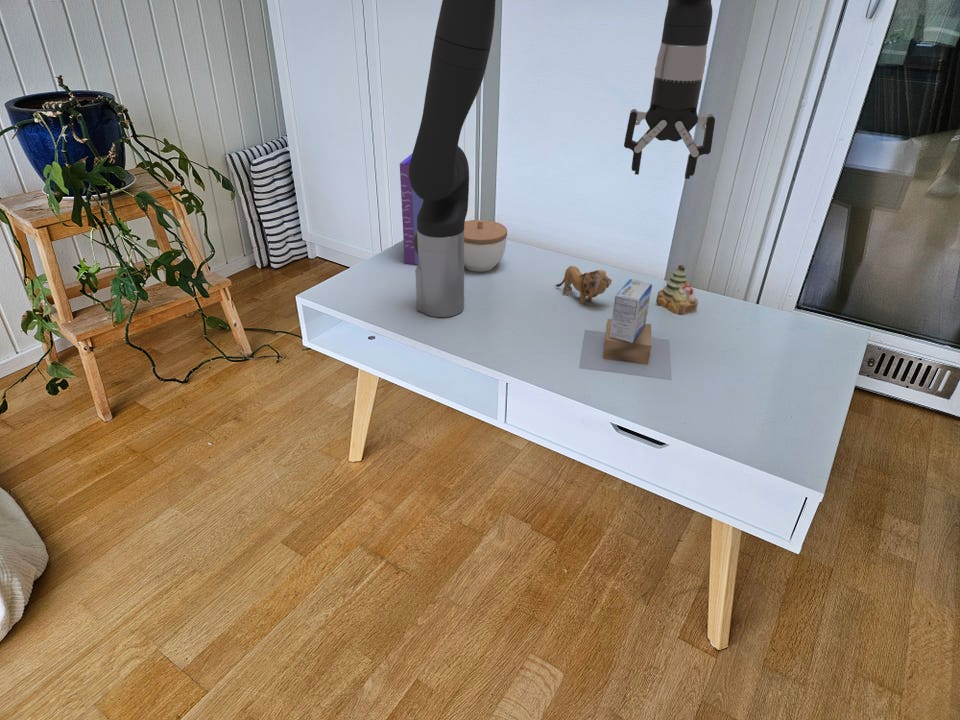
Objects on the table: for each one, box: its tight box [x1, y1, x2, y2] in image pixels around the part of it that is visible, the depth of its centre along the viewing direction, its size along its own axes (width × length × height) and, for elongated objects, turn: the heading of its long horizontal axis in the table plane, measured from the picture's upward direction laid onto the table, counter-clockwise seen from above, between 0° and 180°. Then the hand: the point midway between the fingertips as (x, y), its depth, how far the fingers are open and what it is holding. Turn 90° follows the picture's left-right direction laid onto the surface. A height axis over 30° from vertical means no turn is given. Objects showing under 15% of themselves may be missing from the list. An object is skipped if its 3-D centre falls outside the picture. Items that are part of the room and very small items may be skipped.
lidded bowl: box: [464, 219, 508, 273], centre depth 149 cm, size 13×13×11 cm
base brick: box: [603, 318, 652, 365], centre depth 117 cm, size 8×8×4 cm
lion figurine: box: [555, 265, 613, 305], centre depth 135 cm, size 15×5×9 cm, turn 36°
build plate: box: [578, 329, 673, 381], centre depth 117 cm, size 16×14×1 cm
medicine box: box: [610, 278, 653, 343], centre depth 114 cm, size 8×4×9 cm, turn 151°
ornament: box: [655, 264, 699, 316], centre depth 131 cm, size 8×6×10 cm
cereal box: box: [399, 153, 423, 267], centre depth 152 cm, size 17×5×24 cm, turn 167°
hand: (661, 175), depth 111 cm, fingers open, 8 cm apart
